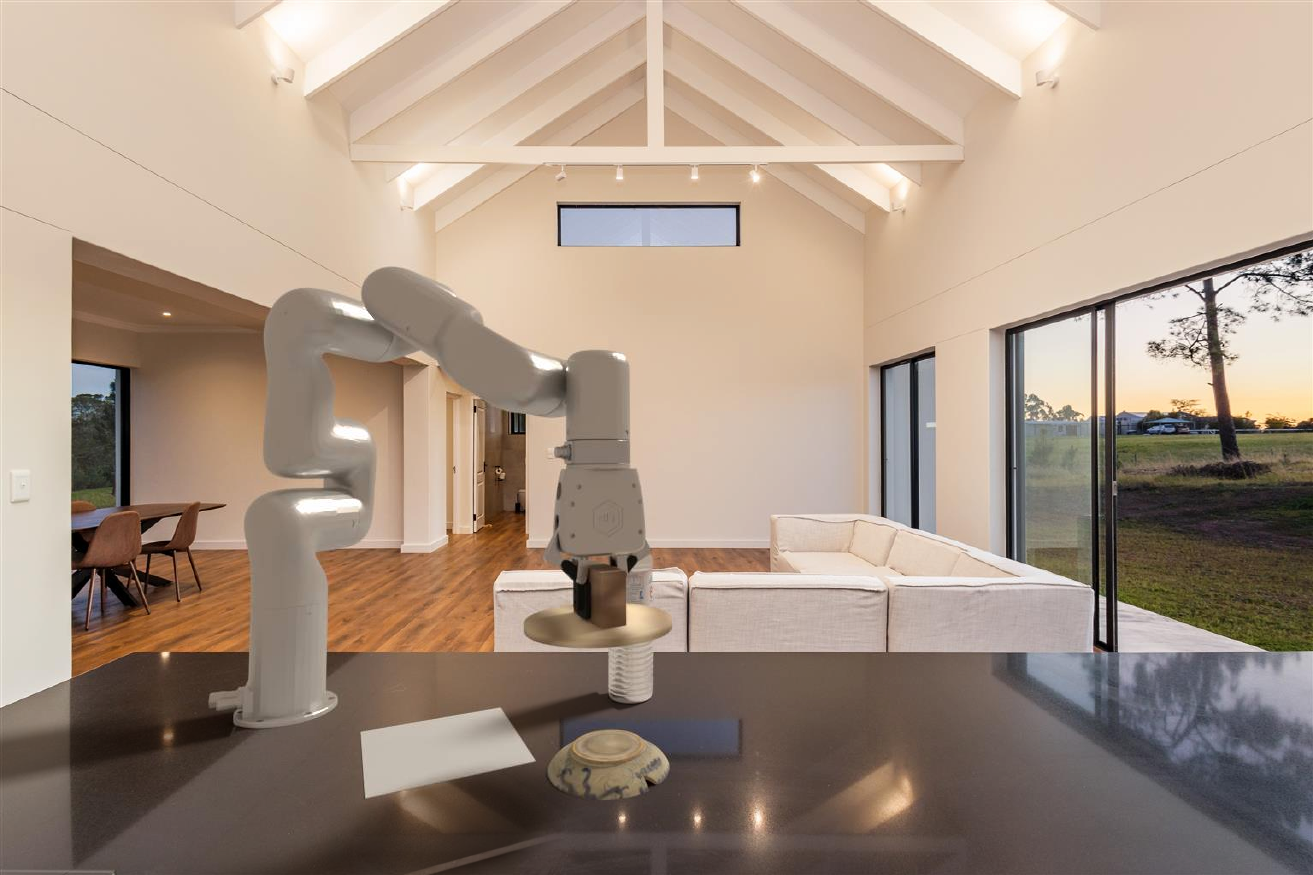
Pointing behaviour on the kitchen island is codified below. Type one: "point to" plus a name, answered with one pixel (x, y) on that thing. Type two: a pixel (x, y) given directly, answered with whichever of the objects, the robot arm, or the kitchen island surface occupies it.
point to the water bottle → (633, 661)
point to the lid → (600, 617)
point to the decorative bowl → (607, 766)
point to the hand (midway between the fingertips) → (598, 613)
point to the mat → (439, 751)
